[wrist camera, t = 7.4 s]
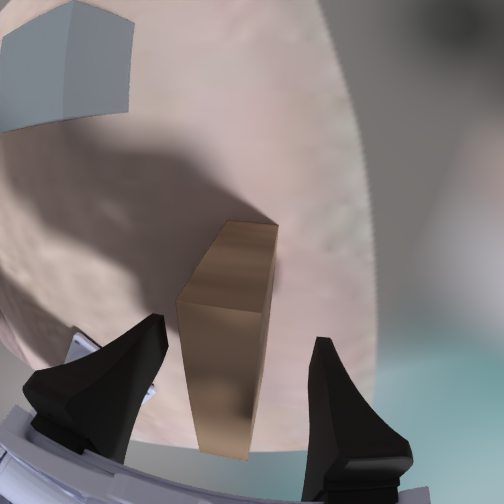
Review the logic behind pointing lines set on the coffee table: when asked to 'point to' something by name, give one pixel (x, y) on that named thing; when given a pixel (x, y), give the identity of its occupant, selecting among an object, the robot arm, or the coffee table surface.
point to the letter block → (65, 67)
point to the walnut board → (228, 335)
